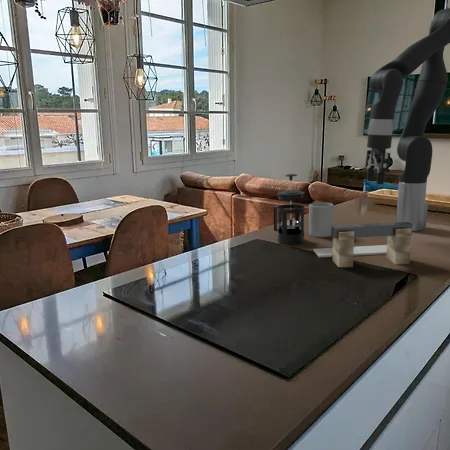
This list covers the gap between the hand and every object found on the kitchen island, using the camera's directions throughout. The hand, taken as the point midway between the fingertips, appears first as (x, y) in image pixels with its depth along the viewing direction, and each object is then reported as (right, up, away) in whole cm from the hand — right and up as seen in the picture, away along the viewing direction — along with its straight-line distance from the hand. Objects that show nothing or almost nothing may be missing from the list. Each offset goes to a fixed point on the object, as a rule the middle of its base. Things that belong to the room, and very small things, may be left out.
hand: (374, 182), depth 143 cm
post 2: (-1, -25, -22) cm, 33 cm away
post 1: (-17, -25, -22) cm, 38 cm away
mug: (-16, -18, +11) cm, 26 cm away
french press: (-29, -20, +2) cm, 35 cm away
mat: (-10, -23, -12) cm, 28 cm away
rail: (-10, -17, -24) cm, 31 cm away
